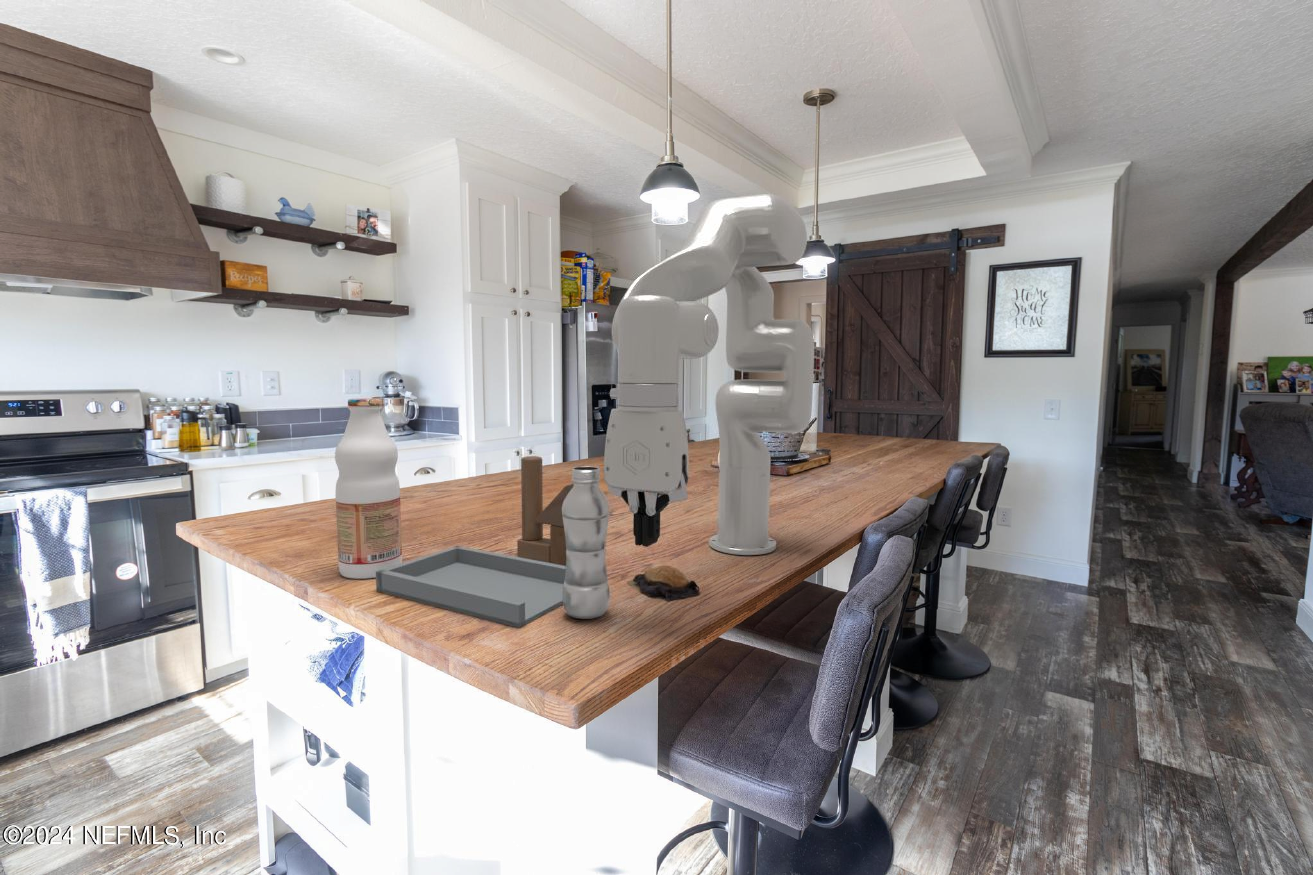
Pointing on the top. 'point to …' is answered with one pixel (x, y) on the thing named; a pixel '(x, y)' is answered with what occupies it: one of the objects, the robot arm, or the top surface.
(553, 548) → the toy block structure
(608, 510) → the plastic bottle
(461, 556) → the tray
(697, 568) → the top surface
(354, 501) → the fruit juice
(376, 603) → the top surface
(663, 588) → the bread roll
